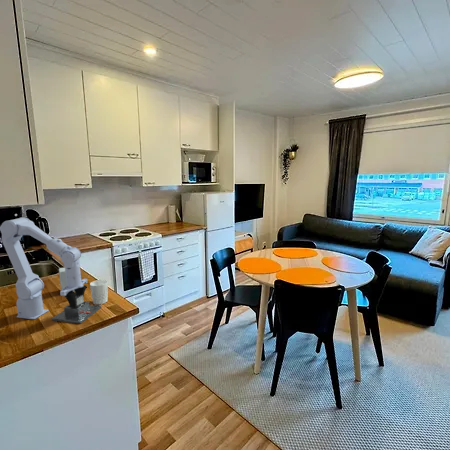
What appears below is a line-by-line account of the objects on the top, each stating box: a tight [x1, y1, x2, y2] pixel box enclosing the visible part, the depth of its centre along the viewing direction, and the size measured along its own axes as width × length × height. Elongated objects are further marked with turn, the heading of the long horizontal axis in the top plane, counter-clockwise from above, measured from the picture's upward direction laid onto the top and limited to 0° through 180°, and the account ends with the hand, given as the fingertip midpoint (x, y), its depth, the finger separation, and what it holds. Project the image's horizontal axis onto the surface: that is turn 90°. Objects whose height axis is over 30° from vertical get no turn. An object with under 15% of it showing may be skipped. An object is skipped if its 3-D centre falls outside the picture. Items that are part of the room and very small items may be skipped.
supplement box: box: [58, 267, 75, 292], centre depth 146 cm, size 7×7×13 cm
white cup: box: [89, 279, 109, 306], centre depth 134 cm, size 8×8×10 cm
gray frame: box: [51, 300, 102, 325], centre depth 123 cm, size 14×14×5 cm
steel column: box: [68, 295, 84, 308], centre depth 122 cm, size 4×4×7 cm
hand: (76, 303), depth 122 cm, fingers closed on steel column, 4 cm apart
